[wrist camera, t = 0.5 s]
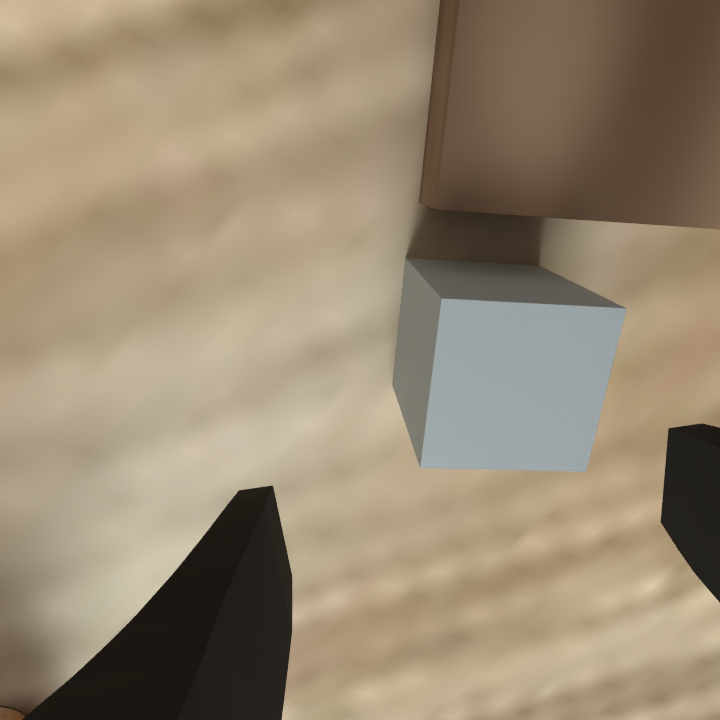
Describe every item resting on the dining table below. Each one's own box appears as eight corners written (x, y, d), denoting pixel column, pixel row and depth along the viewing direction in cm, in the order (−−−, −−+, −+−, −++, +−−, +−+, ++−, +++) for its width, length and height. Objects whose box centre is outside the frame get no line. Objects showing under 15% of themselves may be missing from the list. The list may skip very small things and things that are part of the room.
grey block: (538, 265, 18) (626, 308, 13) (515, 389, 20) (585, 471, 15) (405, 257, 18) (441, 298, 13) (392, 384, 19) (420, 468, 14)
